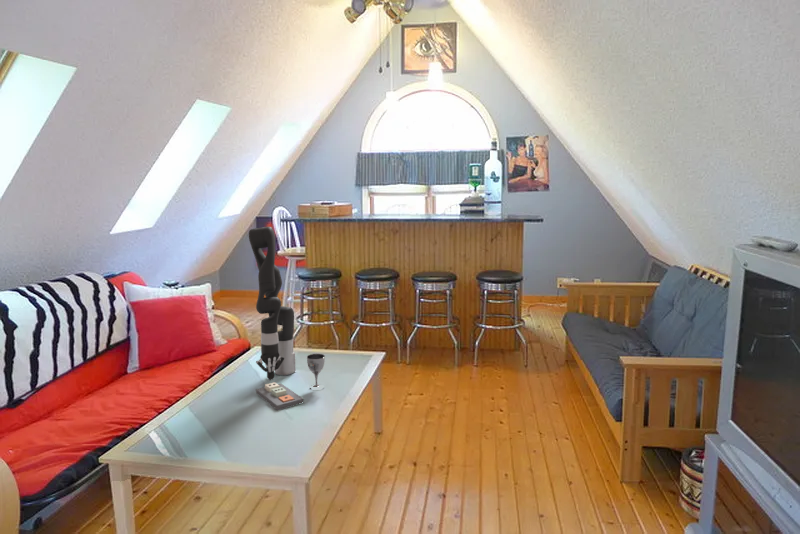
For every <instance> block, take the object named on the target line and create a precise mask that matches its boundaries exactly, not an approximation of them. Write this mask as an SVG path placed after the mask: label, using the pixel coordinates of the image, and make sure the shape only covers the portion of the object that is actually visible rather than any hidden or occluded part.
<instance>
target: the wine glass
mask: <svg viewBox="0 0 800 534" xmlns="http://www.w3.org/2000/svg"><path fill="white" fill-rule="evenodd" d="M325 359H326V357H325V355H324V354H322V353H312V354H308V355H307V356H306V363H307V367H308V370H309V371H310V372H311V373H312V374H313V376H314V379H315V384H313V385H314V386H313V387H319V385H320V384H318V377H319V375H320V373H321V372H322V370H323V369H324V367H325V362H326V361H325Z"/></svg>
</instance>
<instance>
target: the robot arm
mask: <svg viewBox="0 0 800 534" xmlns="http://www.w3.org/2000/svg"><path fill="white" fill-rule="evenodd" d="M248 240H249V243H250V244H249V245H250V246H251V249H252V253H253V255H254V258H255V262H256V264H257V268H258V275H257V277H258V296H257V301H256V304H255V305H256V306H255V308H256V312H258V313H259V314H261V315H266V314H268V317H265V318H262V319H261V321H260V329H261V331H260V334H261V335H260V349H261V350H260V351H261V352H260V354H261V355H260V358H259V359H258V360H256V361H255V363H256V365H258V367H259V368H260V369H261V370H262V371H263V372H265V373H266V377H267V378H266V379H268V380H269V381H272V380H274V379H275V374H276V375H278V376H287V375H288V376H289V375H291V374H293V373H296V372H295V371H296V353H295V352H294V332H295V311H294V309H293V308H292V307H289V306H283V305H282V301H281V299H280V298H279V297H278V296H279V293H280V291H281V289H282V285H283V280H282V275H281V272H280V269H279V268H278V266H277V265H276V264H275V261H276V234H275V230H274V229H273V227H272V226H263V227H255V228H251V229H249V230H248ZM266 248H267V252H266V255H265V253H264V251H263V249H266ZM278 326H282V328H281V329H282V330H281V329H280V330H278ZM263 363H264V365H265V366H264V365H263Z"/></svg>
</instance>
